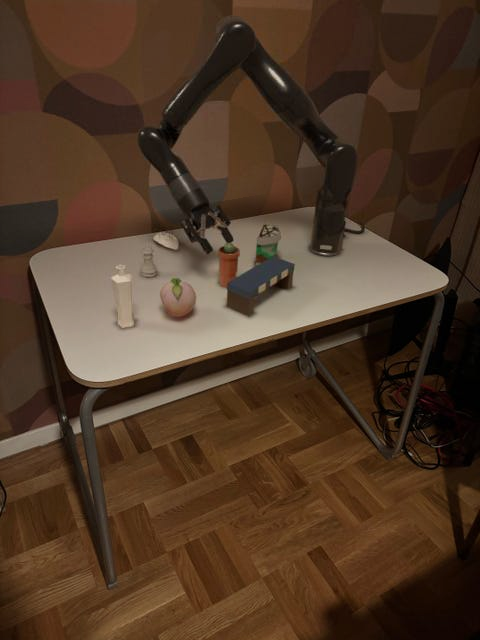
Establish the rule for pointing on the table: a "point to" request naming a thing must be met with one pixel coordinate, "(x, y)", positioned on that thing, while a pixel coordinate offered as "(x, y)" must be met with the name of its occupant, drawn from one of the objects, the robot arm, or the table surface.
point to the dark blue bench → (258, 283)
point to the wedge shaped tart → (267, 242)
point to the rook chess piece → (148, 263)
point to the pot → (228, 263)
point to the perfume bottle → (123, 296)
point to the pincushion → (167, 240)
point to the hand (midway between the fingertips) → (221, 247)
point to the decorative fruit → (177, 297)
